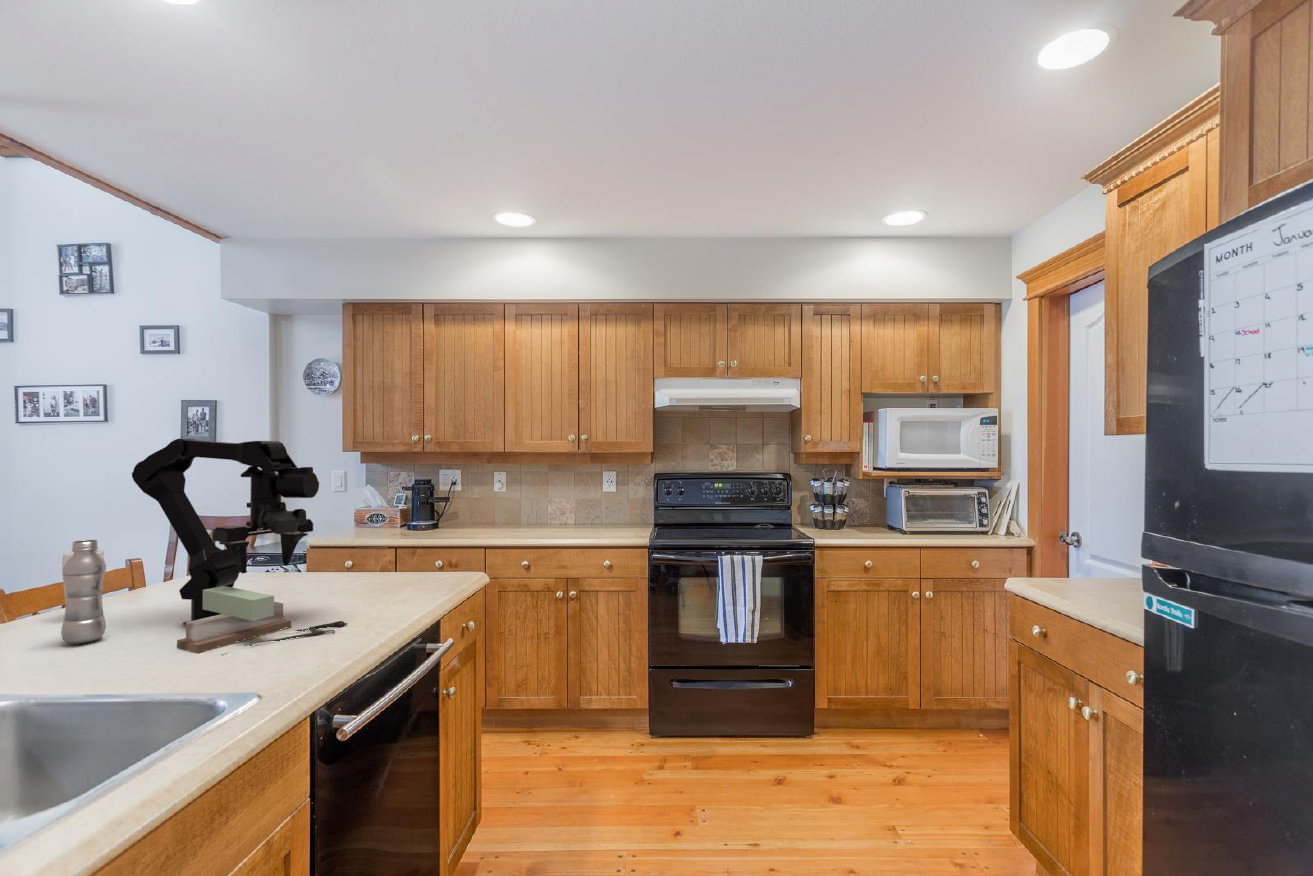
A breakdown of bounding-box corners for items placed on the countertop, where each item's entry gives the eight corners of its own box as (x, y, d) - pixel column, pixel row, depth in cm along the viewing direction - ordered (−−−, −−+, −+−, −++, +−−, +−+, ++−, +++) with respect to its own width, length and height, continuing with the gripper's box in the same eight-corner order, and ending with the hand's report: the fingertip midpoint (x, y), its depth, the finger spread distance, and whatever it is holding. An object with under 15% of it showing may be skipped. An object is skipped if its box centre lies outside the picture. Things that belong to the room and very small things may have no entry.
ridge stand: (176, 647, 116) (177, 621, 116) (270, 623, 132) (270, 600, 132) (198, 653, 113) (198, 626, 113) (291, 627, 129) (291, 603, 129)
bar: (202, 609, 125) (202, 589, 125) (223, 604, 129) (223, 586, 129) (252, 620, 117) (252, 600, 117) (273, 615, 120) (274, 595, 120)
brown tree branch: (346, 625, 132) (346, 619, 132) (351, 638, 123) (351, 631, 123) (210, 645, 119) (210, 637, 119) (204, 661, 110) (204, 652, 110)
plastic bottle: (67, 650, 115) (68, 545, 115) (55, 643, 118) (57, 541, 118) (111, 640, 120) (112, 540, 120) (99, 635, 124) (100, 537, 124)
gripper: (244, 502, 120) (243, 581, 120) (329, 496, 137) (329, 564, 137) (211, 500, 125) (210, 576, 124) (297, 494, 142) (297, 560, 141)
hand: (265, 569), depth 132 cm, fingers open, 9 cm apart
